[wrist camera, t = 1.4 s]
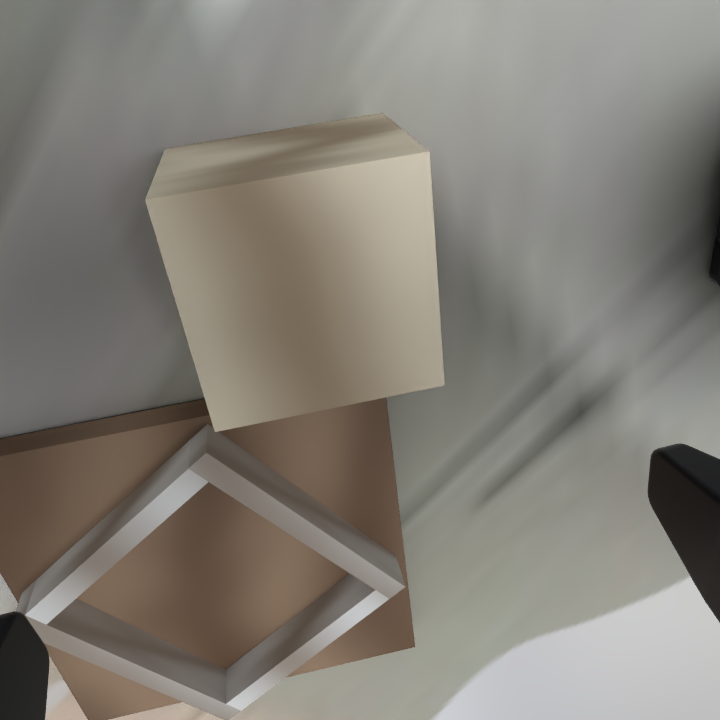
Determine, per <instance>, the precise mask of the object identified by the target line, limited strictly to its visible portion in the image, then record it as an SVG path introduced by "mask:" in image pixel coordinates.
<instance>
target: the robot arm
mask: <svg viewBox="0 0 720 720" xmlns="http://www.w3.org/2000/svg"><path fill="white" fill-rule="evenodd" d="M710 279H711V281H713V282H714V283H716V284H718V285H719V286H720V216H719V222H718V227H717V233H716V239H715V244H714V250H713V255H712V261H711V267H710ZM648 497H649V501H650V504H651V506H652V508H653V510H654V512H655V514H656V516H657V517H658V519H659V521H660V523H661V524H662V526H663V528H664V530H665V532H666V533H667V535H668V537H669V539H670V540H671V542H672V544H673V546H674V548H675V549H676V551H677V553H678V555H679V557H680V558H681V560H682V562H683V564H684V565H685V567H686V569H687V571H688V573H689V574H690V576H691V578H692V580H693V581H694V583H695V585H696V587H697V588H698V590H699V591H700V593H701V595H702V597H703V598H704V600H705V602H706V603H707V604H708V606H709V608H710V609H711V610H712V612H713V613H714V615H715V616H716V618H717V619H718V620H719V622H720V459H718V458H716V457H713V456H711V455H709V454H706V453H704V452H702V451H699V450H697V449H695V448H693V447H690V446H688V445H685V444H674V445H670V446H666V447H662V448H658V449H656V450H654V451H653V453H652V455H651V460H650V471H649V482H648ZM48 675H49V655H48V651H47V648H46V646H45V644H44V643H43V641H42V640H41V638H40V637H39V635H38V634H37V632H36V631H35V629H34V628H33V627H32V625H31V624H30V622H29V621H28V619H27V618H26V616H25V615H24V614H22V613H20V612H15V611H14V612H10V613H6V614H2V615H0V720H45V713H46V699H47V688H48Z"/></svg>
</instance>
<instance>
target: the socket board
mask: <svg viewBox="0 0 720 720" xmlns="http://www.w3.org/2000/svg"><path fill="white" fill-rule="evenodd" d="M0 573H1V575H2V576H3V578H4V580H5V582H6V583H7V585H8V587H9V588H10V590H11V592H12V593H13V595H14V597H15V598H16V600H17V602H18V603H19V604H18V607H17V610H16V612H20V613H22V614H24V615H25V616H26V618H27V619H28V621H29V622H30V624H31V625H32V627H33V628H34V629H35V631H36V632H37V634H38V635H39V637H40V638H41V640H42V641H43V643H44V644H45V646H46V648H47V651H48V654H49V655H50V657H51V659H52V660H53V662H54V664H55V665H56V667H57V669H58V670H59V672H60V674H61V675H62V677H63V679H64V680H65V682H66V684H67V686H68V687H69V689H70V691H71V692H72V694H73V696H74V697H75V699H76V701H77V702H78V704H79V706H80V707H81V709H82V711H83V712H84V714H85V716H86V717H87V719H88V720H108V719H113V718H117V717H121V716H125V715H129V714H134V713H138V712H142V711H146V710H151V709H155V708H159V707H163V706H167V705H172V704H176V703H180V702H184V703H186V704H189V705H191V706H193V707H196V708H198V709H200V710H203V711H205V712H207V713H210V714H212V715H214V716H217V717H219V718H222V719H224V720H229V719H231V718H232V717H233V716H235V715H236V714H237V713H239V712H240V711H241V710H243V709H244V708H245V707H247V706H248V705H249V704H251V703H252V702H253V701H255V700H256V699H257V698H259V697H260V696H261V695H262V694H264V693H265V692H266V691H268V690H269V689H270V688H272V687H273V686H274V685H276V684H277V683H278V682H280V681H281V680H282V679H284V678H286V677H290V676H294V675H298V674H303V673H307V672H311V671H315V670H319V669H324V668H328V667H332V666H336V665H341V664H345V663H349V662H353V661H357V660H362V659H366V658H370V657H374V656H379V655H383V654H387V653H391V652H395V651H400V650H404V649H408V648H412V647H415V642H414V633H413V625H412V616H411V608H410V599H409V590H408V582H407V573H406V565H405V556H404V548H403V539H402V531H401V522H400V513H399V505H398V496H397V488H396V479H395V471H394V462H393V453H392V445H391V436H390V428H389V419H388V411H387V402H386V397H385V398H380V399H376V400H371V401H366V402H361V403H356V404H351V405H346V406H341V407H336V408H331V409H326V410H321V411H317V412H312V413H307V414H302V415H297V416H292V417H287V418H282V419H277V420H272V421H267V422H262V423H258V424H253V425H248V426H243V427H238V428H233V429H228V430H223V431H218V432H215V431H214V428H213V424H212V421H211V418H210V414H209V411H208V408H207V404H206V401H205V399H202V400H197V401H192V402H187V403H182V404H177V405H171V406H166V407H161V408H156V409H151V410H146V411H141V412H136V413H130V414H125V415H120V416H115V417H110V418H105V419H100V420H94V421H89V422H84V423H79V424H74V425H69V426H64V427H59V428H53V429H48V430H43V431H38V432H33V433H28V434H23V435H17V436H12V437H7V438H2V439H0Z"/></svg>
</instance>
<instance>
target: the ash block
mask: <svg viewBox="0 0 720 720" xmlns="http://www.w3.org/2000/svg"><path fill="white" fill-rule="evenodd" d="M145 202H146V205H147V208H148V212H149V215H150V218H151V222H152V225H153V228H154V232H155V235H156V238H157V242H158V245H159V248H160V252H161V255H162V258H163V262H164V265H165V268H166V272H167V275H168V278H169V282H170V285H171V288H172V292H173V295H174V298H175V301H176V305H177V308H178V311H179V315H180V318H181V321H182V325H183V328H184V331H185V335H186V338H187V341H188V345H189V348H190V351H191V355H192V358H193V361H194V365H195V368H196V371H197V375H198V378H199V381H200V385H201V388H202V391H203V394H204V398H205V401H206V404H207V408H208V411H209V414H210V418H211V421H212V424H213V428H214V431H215V432H218V431H223V430H228V429H233V428H238V427H243V426H248V425H253V424H258V423H262V422H267V421H272V420H277V419H282V418H287V417H292V416H297V415H302V414H307V413H312V412H317V411H321V410H326V409H331V408H336V407H341V406H346V405H351V404H356V403H361V402H366V401H371V400H376V399H380V398H385V397H390V396H395V395H400V394H405V393H410V392H415V391H420V390H425V389H430V388H434V387H439V386H444V385H445V383H444V368H443V352H442V336H441V321H440V305H439V290H438V274H437V259H436V243H435V228H434V212H433V197H432V181H431V166H430V151H428V150H427V149H426V148H425V147H424V146H422V145H421V144H420V143H419V142H417V141H416V140H415V139H414V138H413V137H411V136H410V135H409V134H408V133H406V132H405V131H404V130H403V129H402V128H400V127H399V126H398V125H397V124H395V123H394V122H393V121H392V120H391V119H389V118H388V117H387V116H386V115H384V114H383V113H380V114H374V115H368V116H361V117H355V118H349V119H343V120H337V121H331V122H325V123H319V124H313V125H306V126H300V127H294V128H288V129H282V130H276V131H270V132H264V133H258V134H252V135H245V136H239V137H233V138H227V139H221V140H215V141H209V142H203V143H197V144H191V145H184V146H178V147H172V148H166V149H165V150H164V153H163V155H162V158H161V160H160V163H159V165H158V168H157V170H156V173H155V176H154V178H153V181H152V183H151V186H150V188H149V191H148V193H147V196H146V198H145Z"/></svg>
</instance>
